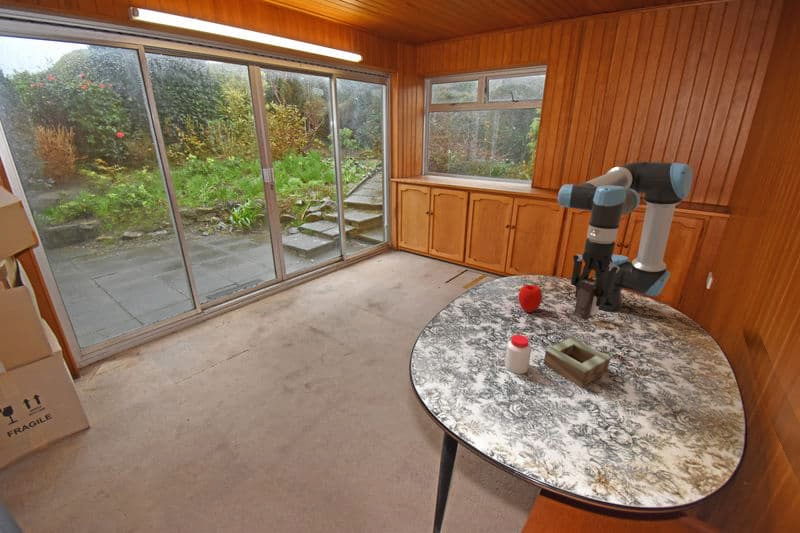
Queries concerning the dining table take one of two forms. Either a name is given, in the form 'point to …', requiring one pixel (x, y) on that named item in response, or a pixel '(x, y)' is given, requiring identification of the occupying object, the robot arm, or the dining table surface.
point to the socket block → (576, 361)
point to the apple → (530, 297)
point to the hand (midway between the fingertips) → (586, 310)
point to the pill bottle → (518, 354)
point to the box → (586, 298)
